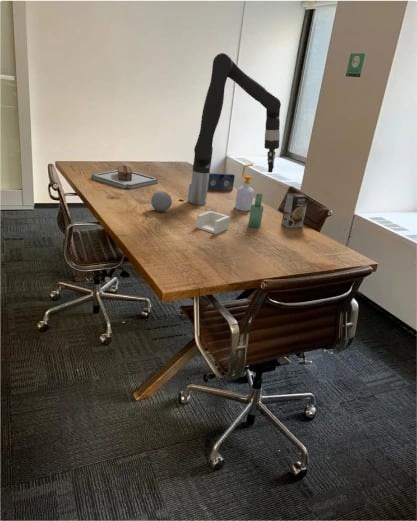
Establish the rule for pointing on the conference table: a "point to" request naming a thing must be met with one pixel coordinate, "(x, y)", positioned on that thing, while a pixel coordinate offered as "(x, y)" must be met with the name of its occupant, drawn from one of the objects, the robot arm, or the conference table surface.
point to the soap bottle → (244, 194)
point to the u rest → (212, 222)
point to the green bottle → (256, 212)
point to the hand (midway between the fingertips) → (270, 170)
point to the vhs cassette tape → (221, 182)
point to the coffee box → (294, 210)
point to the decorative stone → (161, 201)
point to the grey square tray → (124, 178)
